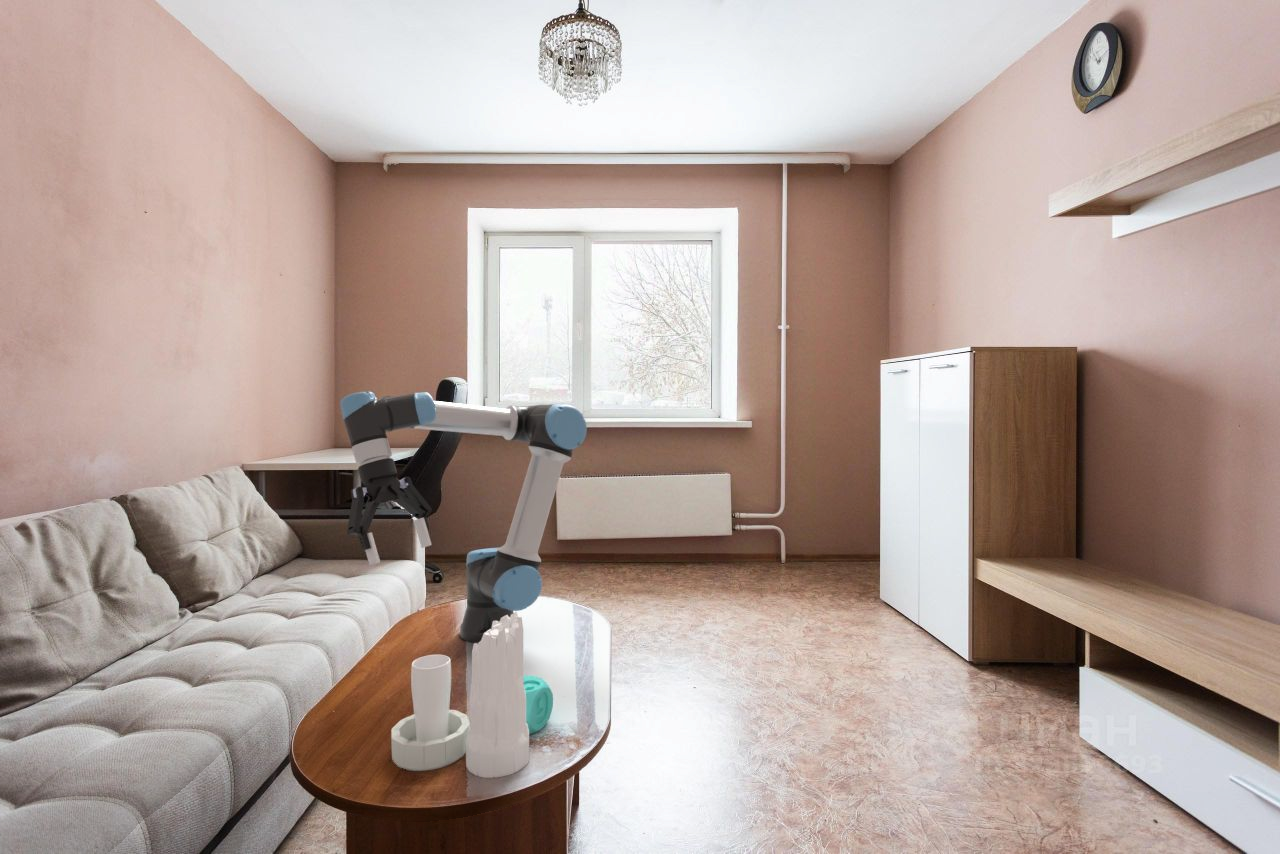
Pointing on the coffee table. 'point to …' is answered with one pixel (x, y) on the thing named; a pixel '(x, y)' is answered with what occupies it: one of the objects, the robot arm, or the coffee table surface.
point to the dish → (429, 744)
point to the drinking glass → (431, 696)
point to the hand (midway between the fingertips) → (402, 555)
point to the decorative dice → (537, 702)
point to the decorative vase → (498, 702)
